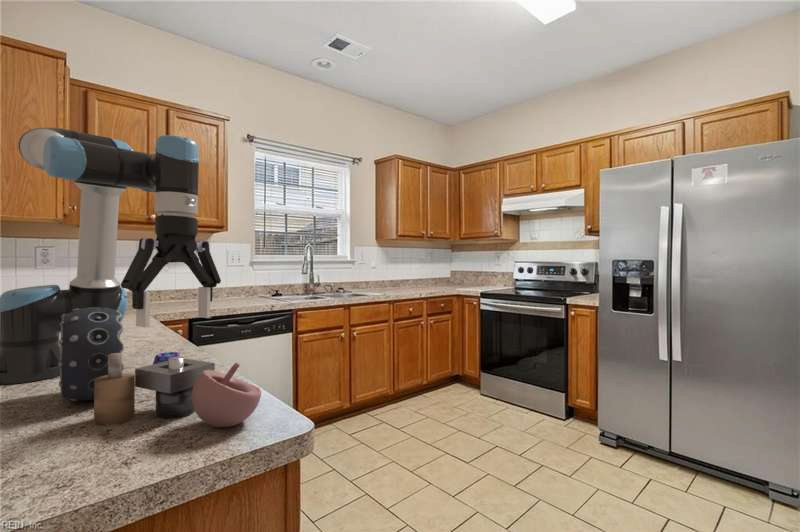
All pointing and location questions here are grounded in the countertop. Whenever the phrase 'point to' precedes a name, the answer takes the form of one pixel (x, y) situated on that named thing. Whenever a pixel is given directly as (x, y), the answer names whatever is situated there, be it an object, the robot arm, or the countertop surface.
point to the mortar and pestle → (224, 398)
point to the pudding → (165, 357)
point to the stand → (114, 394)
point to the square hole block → (170, 376)
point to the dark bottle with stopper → (174, 397)
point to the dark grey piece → (87, 349)
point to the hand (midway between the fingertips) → (175, 321)
